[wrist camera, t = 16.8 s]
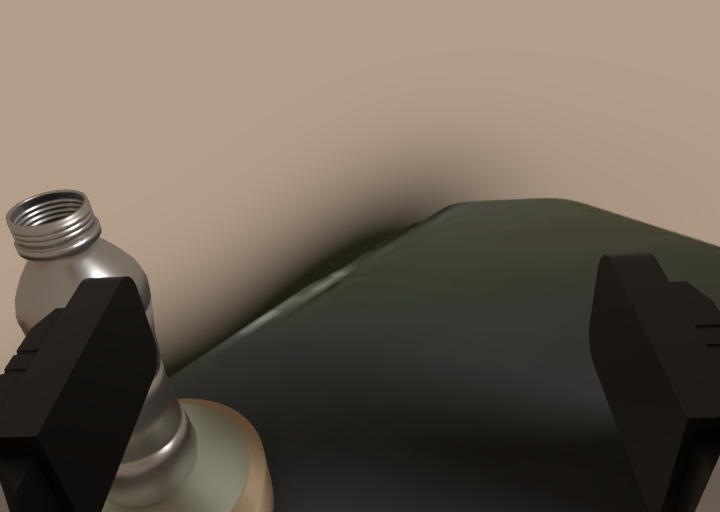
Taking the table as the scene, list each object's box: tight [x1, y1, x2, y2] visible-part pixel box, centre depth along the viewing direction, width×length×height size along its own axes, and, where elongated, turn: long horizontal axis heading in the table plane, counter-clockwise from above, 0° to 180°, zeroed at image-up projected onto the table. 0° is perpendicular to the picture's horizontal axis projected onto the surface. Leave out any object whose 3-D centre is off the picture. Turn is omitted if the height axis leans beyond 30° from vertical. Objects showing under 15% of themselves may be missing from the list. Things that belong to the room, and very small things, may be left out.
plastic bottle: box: [6, 190, 198, 507], centre depth 37 cm, size 6×7×20 cm
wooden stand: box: [102, 399, 274, 512], centre depth 44 cm, size 14×14×4 cm
